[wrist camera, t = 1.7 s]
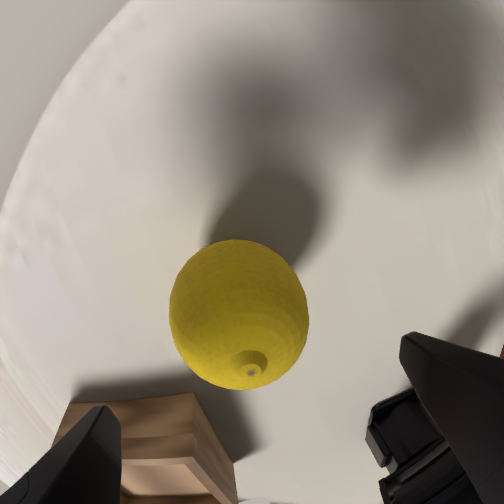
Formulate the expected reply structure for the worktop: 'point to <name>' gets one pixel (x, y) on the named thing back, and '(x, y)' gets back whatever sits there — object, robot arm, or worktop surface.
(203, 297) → the lemon
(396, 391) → the worktop surface
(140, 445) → the walnut box
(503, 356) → the muffin
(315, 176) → the worktop surface
